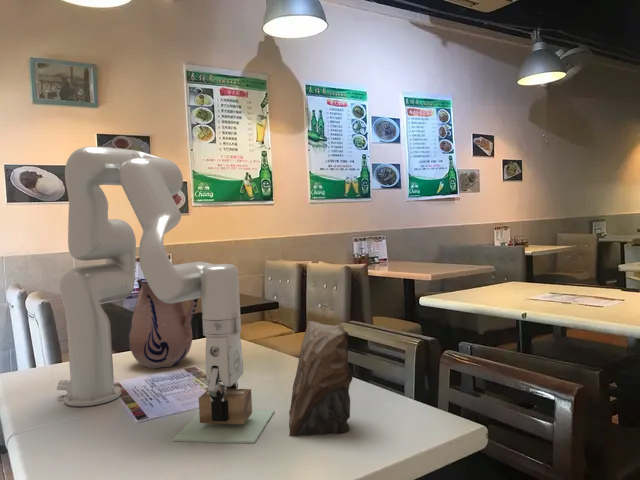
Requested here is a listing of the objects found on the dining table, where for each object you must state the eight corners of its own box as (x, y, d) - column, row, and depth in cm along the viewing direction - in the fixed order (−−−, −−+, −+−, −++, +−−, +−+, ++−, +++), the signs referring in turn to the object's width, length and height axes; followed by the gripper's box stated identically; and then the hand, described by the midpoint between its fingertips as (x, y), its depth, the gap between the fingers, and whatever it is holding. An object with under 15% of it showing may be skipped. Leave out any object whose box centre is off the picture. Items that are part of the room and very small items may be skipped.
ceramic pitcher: (147, 356, 170) (142, 275, 169) (213, 356, 168) (209, 273, 166) (118, 373, 153) (113, 283, 152) (192, 373, 150) (187, 281, 149)
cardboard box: (243, 424, 108) (242, 397, 108) (199, 422, 110) (198, 397, 109) (252, 412, 114) (251, 388, 114) (210, 411, 116) (209, 387, 115)
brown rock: (302, 412, 118) (298, 319, 117) (361, 414, 115) (358, 319, 114) (286, 436, 106) (281, 332, 105) (351, 439, 103) (347, 333, 102)
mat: (172, 441, 105) (172, 439, 105) (203, 410, 121) (202, 409, 121) (254, 443, 103) (254, 441, 103) (274, 412, 119) (274, 410, 119)
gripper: (226, 335, 102) (230, 432, 103) (251, 317, 119) (255, 400, 120) (187, 335, 103) (192, 431, 104) (218, 317, 120) (221, 399, 121)
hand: (225, 413), depth 112 cm, fingers closed on cardboard box, 6 cm apart
